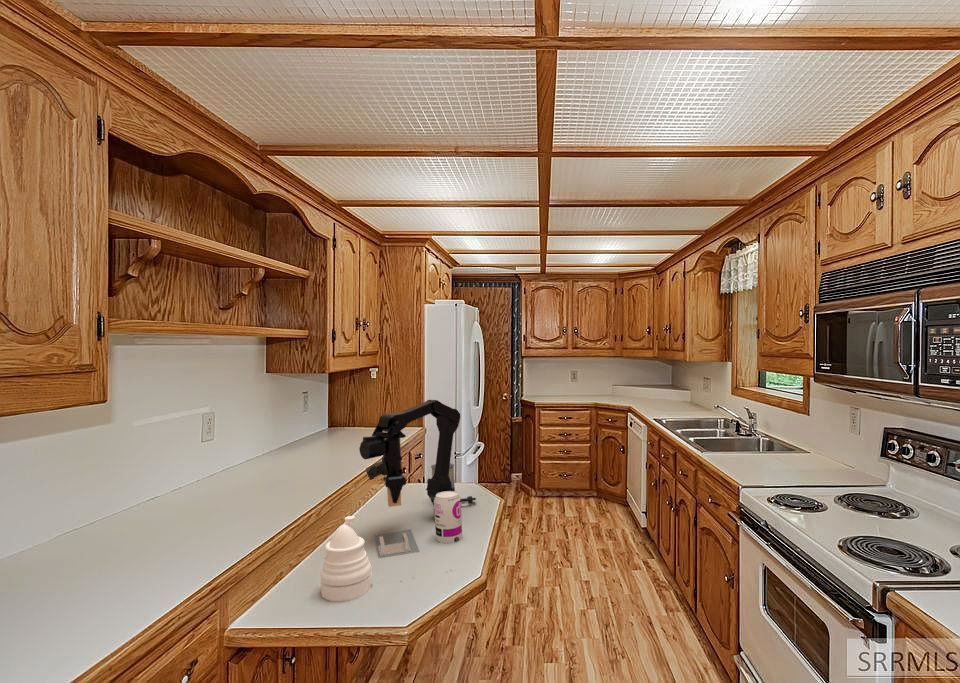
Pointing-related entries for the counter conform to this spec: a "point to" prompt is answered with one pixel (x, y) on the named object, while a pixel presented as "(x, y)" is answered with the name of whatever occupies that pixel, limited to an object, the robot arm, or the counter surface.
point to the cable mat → (396, 541)
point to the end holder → (394, 547)
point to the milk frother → (451, 476)
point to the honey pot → (345, 566)
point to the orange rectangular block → (390, 501)
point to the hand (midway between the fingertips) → (394, 501)
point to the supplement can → (448, 517)
